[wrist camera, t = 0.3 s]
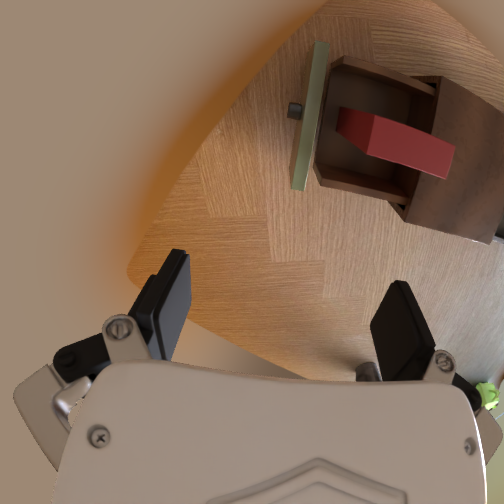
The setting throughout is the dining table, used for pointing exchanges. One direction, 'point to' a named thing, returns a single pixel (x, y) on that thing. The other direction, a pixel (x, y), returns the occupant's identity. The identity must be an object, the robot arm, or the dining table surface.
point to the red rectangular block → (395, 141)
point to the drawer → (363, 99)
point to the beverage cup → (368, 373)
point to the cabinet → (461, 167)
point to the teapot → (488, 394)
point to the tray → (500, 231)
